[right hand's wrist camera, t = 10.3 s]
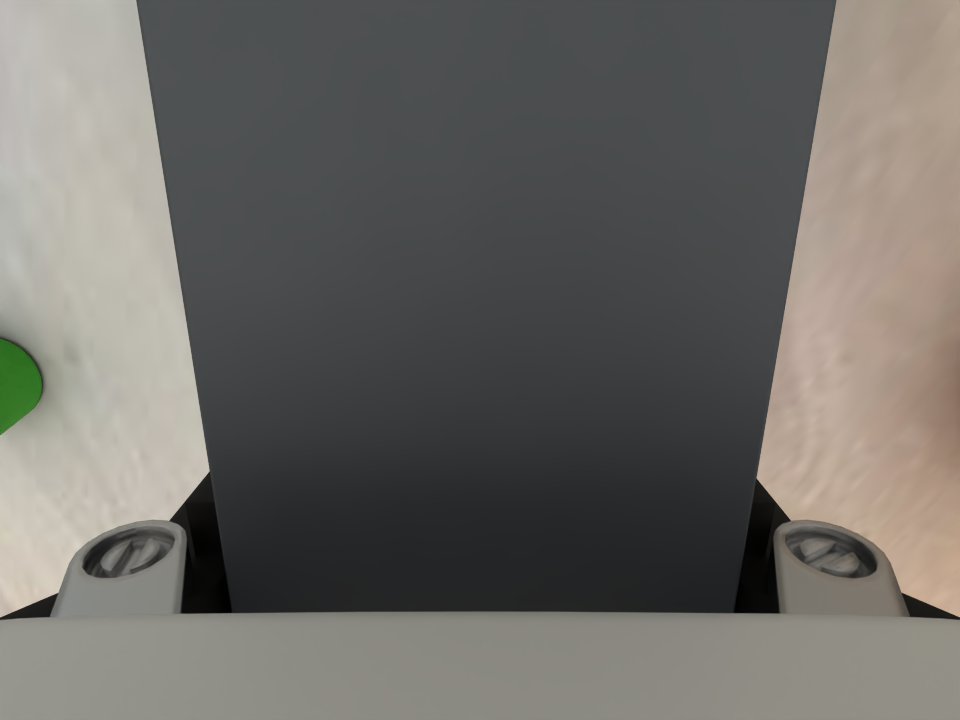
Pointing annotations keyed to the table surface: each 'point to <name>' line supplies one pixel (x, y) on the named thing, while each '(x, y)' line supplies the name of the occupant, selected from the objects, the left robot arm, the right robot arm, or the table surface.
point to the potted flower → (16, 384)
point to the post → (484, 289)
